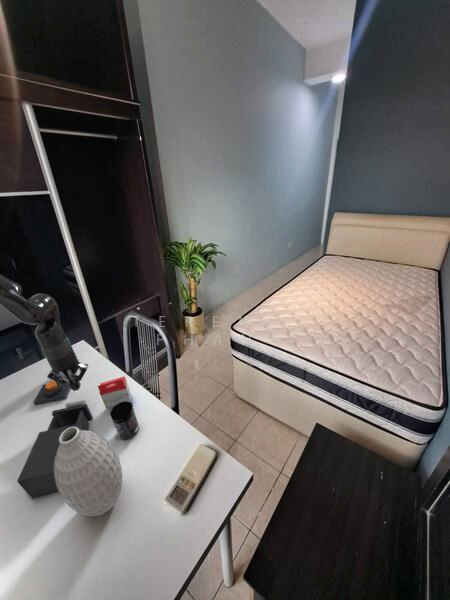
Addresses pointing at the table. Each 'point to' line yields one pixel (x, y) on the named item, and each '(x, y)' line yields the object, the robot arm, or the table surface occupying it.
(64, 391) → the block
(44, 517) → the table surface
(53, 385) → the button
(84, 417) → the drawer
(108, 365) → the table surface
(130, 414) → the supplement container
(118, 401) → the ink box
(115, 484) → the vase
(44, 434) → the cabinet
